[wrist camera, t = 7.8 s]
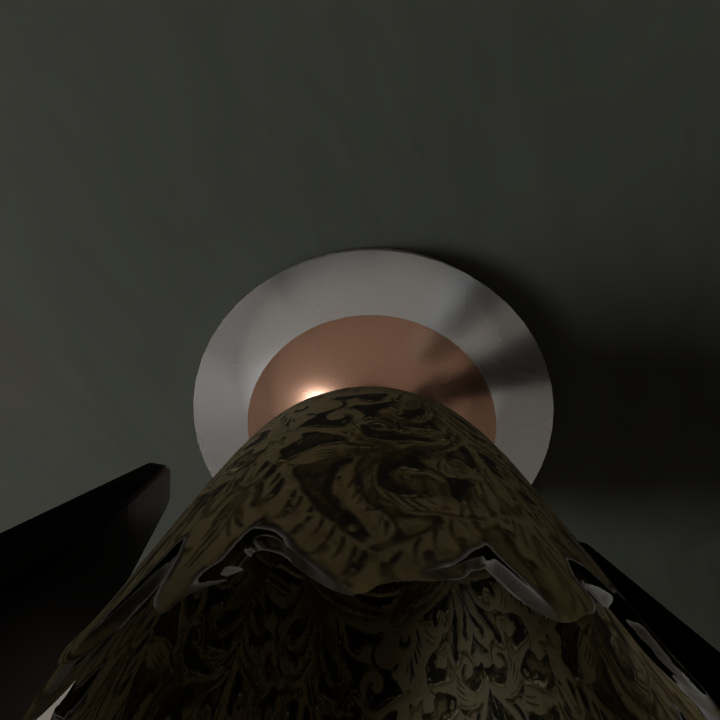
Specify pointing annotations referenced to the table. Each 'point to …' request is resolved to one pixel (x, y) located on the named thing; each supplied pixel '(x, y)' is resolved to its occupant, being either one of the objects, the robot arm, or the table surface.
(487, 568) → the cup
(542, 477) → the table surface
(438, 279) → the rosette plate
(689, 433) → the table surface
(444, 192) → the table surface
